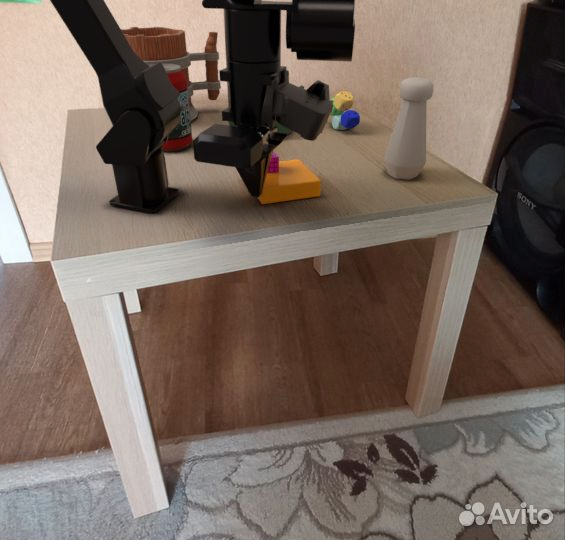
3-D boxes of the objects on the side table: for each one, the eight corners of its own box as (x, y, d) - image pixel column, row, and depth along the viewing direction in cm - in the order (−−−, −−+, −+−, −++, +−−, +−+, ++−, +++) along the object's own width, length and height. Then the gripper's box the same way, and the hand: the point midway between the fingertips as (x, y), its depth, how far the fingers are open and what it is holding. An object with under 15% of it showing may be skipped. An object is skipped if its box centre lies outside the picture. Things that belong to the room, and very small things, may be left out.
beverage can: (180, 155, 73) (170, 73, 66) (142, 149, 75) (129, 69, 68) (200, 141, 78) (193, 64, 72) (164, 137, 80) (154, 61, 73)
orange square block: (298, 173, 67) (299, 144, 65) (320, 196, 61) (322, 165, 59) (244, 180, 65) (243, 150, 63) (261, 204, 59) (261, 172, 57)
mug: (117, 112, 92) (101, 26, 84) (210, 102, 99) (205, 22, 91) (130, 132, 82) (114, 37, 73) (234, 120, 89) (230, 32, 80)
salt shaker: (423, 183, 65) (442, 85, 58) (381, 180, 66) (395, 82, 59) (421, 168, 70) (439, 75, 62) (382, 165, 71) (395, 73, 63)
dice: (359, 134, 83) (363, 96, 79) (346, 135, 82) (350, 97, 78) (336, 121, 89) (339, 86, 85) (324, 123, 88) (326, 87, 84)
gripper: (300, 84, 39) (295, 243, 48) (348, 49, 54) (338, 176, 63) (183, 73, 42) (198, 225, 51) (258, 43, 57) (260, 165, 66)
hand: (256, 195), depth 58 cm, fingers closed
